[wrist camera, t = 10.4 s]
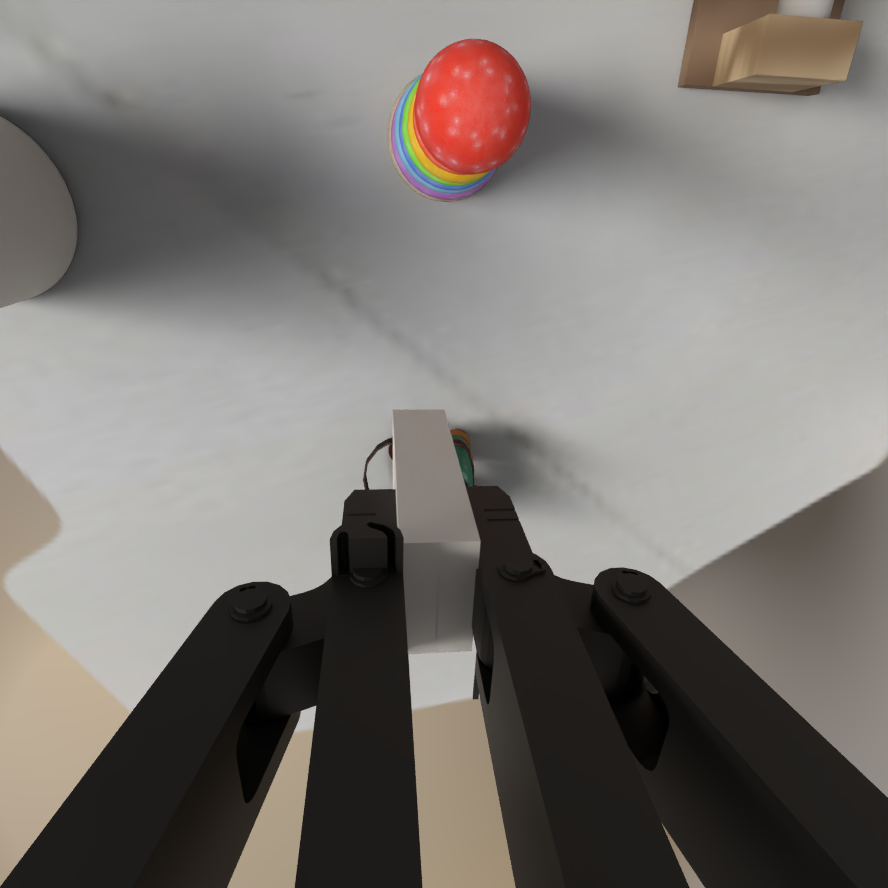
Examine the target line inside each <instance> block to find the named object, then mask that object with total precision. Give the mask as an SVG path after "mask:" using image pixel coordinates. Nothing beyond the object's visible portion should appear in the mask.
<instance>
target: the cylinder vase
mask: <svg viewBox="0 0 888 888" xmlns="http://www.w3.org/2000/svg"><path fill="white" fill-rule="evenodd" d="M76 243H77V219H76V213H75V209H74V205H73V201H72V198H71V196H70V193H69V191H68V188H67V186H66V184H65V182H64V180H63V178H62V176H61V175H60V173H59V171H58V170H57V168H56V167H55V165H54V164H53V162H52V161H51V160H50V158H49V157H48V156H47V155H46V153H45V152H44V151H43V150H42V149H41V148H40V147H39V146H38V145H37V144H36V143H35V142H34V141H33V140H32V139H31V138H30V137H29V136H28V135H27V134H25V133H24V132H23V131H22V130H20V129H19V128H18V127H16V126H15V125H14V124H12V123H11V122H9V121H8V120H6V119H5V118H3V117H1V116H0V308H2V307H5V306H8V305H11V304H14V303H17V302H20V301H23V300H26V299H29V298H32V297H34V296H37V295H39V294H41V293H43V292H45V291H46V290H48V289H49V288H51V287H52V286H53V285H54V284H56V283H57V282H58V281H59V280H60V279H61V277H62V276H63V275H64V274H65V272H66V271H67V269H68V267H69V265H70V263H71V261H72V259H73V256H74V253H75V249H76Z"/></svg>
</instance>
